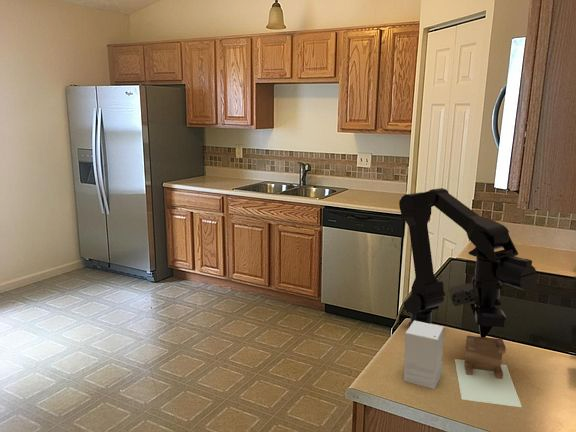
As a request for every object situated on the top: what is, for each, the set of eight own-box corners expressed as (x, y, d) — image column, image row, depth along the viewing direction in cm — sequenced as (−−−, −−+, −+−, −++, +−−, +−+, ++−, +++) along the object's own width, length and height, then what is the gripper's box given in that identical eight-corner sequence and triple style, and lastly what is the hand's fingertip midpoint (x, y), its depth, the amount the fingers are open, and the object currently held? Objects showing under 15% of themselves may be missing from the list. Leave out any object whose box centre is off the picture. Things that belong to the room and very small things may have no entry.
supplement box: (442, 374, 111) (445, 326, 108) (434, 390, 105) (438, 339, 102) (411, 366, 115) (413, 319, 112) (402, 381, 109) (404, 332, 106)
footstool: (464, 365, 114) (466, 335, 113) (499, 369, 112) (502, 339, 111) (466, 374, 110) (468, 343, 109) (502, 378, 108) (505, 347, 107)
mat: (454, 360, 117) (454, 359, 117) (506, 365, 114) (506, 364, 114) (461, 400, 101) (461, 399, 101) (521, 408, 98) (521, 407, 98)
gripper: (448, 262, 121) (445, 317, 125) (456, 288, 104) (451, 352, 107) (494, 264, 119) (489, 321, 122) (510, 292, 101) (503, 357, 105)
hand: (482, 336), depth 114 cm, fingers closed
